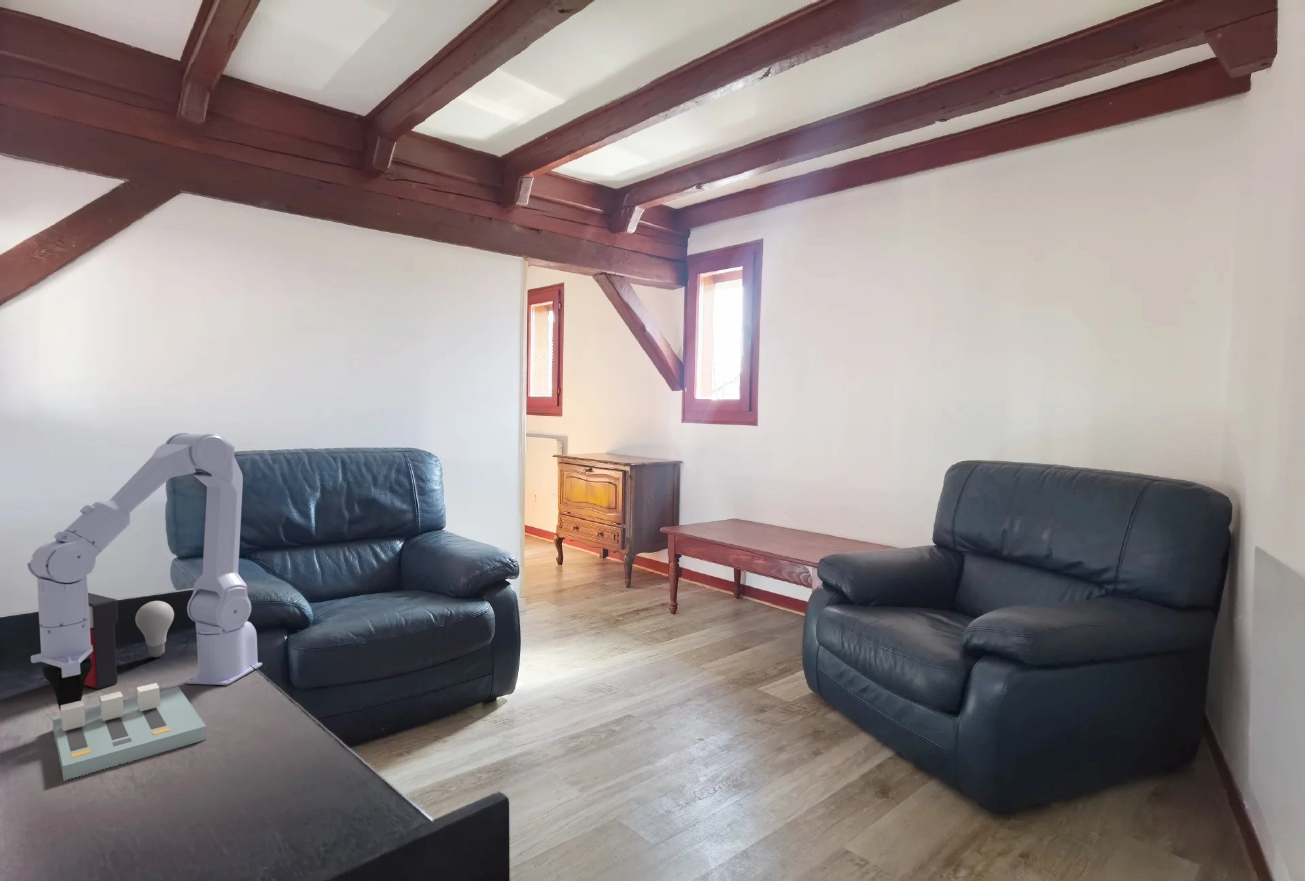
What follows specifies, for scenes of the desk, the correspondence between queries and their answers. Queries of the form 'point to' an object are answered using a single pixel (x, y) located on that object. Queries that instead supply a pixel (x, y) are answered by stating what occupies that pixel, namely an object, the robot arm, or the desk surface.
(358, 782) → the desk surface
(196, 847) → the desk surface
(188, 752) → the desk surface
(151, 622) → the lightbulb
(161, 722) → the switch board
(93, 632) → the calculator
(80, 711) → the tab
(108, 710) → the tab
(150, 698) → the tab
